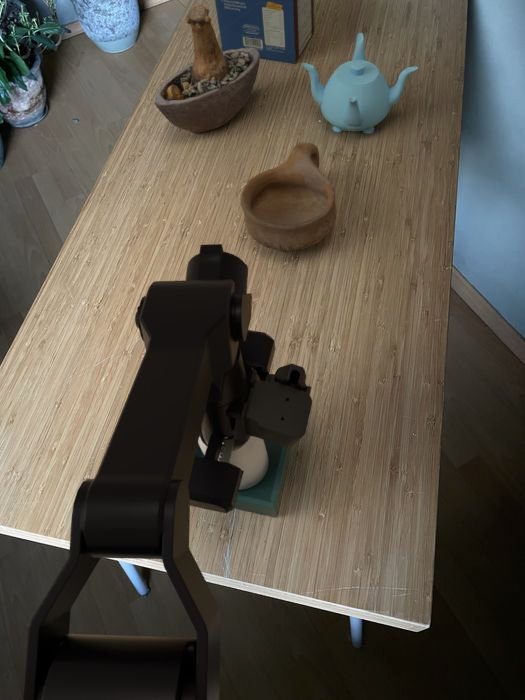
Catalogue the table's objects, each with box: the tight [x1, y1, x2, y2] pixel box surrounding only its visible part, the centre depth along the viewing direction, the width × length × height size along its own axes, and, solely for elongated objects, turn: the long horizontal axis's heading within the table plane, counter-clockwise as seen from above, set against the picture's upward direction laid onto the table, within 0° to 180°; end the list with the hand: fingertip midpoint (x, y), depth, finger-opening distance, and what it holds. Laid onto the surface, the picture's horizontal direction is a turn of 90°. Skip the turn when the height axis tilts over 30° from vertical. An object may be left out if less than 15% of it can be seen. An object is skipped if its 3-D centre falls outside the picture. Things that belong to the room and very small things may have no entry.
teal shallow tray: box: [195, 440, 293, 519], centre depth 69 cm, size 11×11×4 cm
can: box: [198, 428, 268, 490], centre depth 64 cm, size 6×6×12 cm
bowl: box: [239, 141, 338, 252], centre depth 86 cm, size 18×14×10 cm
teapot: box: [301, 32, 419, 134], centre depth 96 cm, size 13×13×10 cm
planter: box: [154, 4, 261, 134], centre depth 95 cm, size 15×17×20 cm
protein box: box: [214, 0, 315, 64], centre depth 107 cm, size 10×15×16 cm
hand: (235, 445), depth 66 cm, fingers open, 8 cm apart
